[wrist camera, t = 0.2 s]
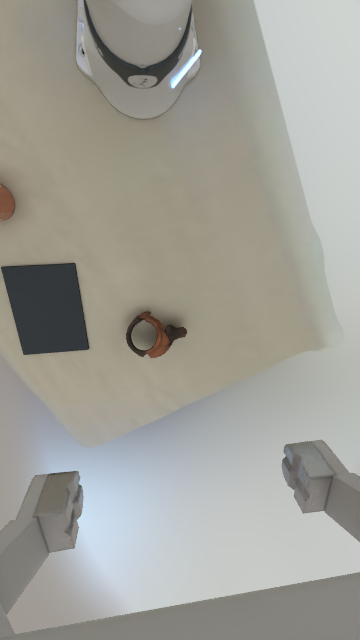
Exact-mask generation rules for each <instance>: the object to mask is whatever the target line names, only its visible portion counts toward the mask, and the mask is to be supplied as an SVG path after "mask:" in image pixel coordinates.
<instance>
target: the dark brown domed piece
mask: <svg viewBox="0 0 360 640" xmlns="http://www.w3.org/2000/svg"><path fill="white" fill-rule="evenodd" d="M149 314H151V312H146V313H142V314H141V315H138V316H137V317H136V318H135V319H134V320H133V321H132V323H131V324H130V325H129V327H128V329H127V333H126V340H127V343H128V346H129V347H130V348H131V349H132V350H133V351H134V352H135V353H136V354H138V355H139V356H141V357H144V355H146V354H148V355H149V356H150V358H156V357H159V356H161V355H163V354H164V353H165V352H166V351H167V350H168V349H169V348H170V346H171V345H172V343H173V341H174V340H175V339H178V338H181V337H185V336H186V334H187V330H186V329H185V328H184V327H180V328H176V327H174V326H172V325H168V326H167V327H166V329H165V331H164V330H163V328H164V325H163V324H162V323H161V322H160V321H159V320H157V319H156V318H154V317H153V316H150V315H149ZM141 320H145V321H146V322H149V323H151V324H152V325H153V326H154V327H155V329H156V331H157V340H156V343H155V345H154V346H153V347H152V348H150V349H148V350H145V351H143V350H139V349H137V348H136V347H135V346H134V344H133V343H132V340H131V333H132V330H133V328H134V326H135V325H136V324H137V323H139V322H141Z"/></svg>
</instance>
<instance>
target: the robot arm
mask: <svg viewBox="0 0 360 640" xmlns="http://www.w3.org/2000/svg"><path fill="white" fill-rule="evenodd" d="M83 50H84V53H85V55H84V54H83V53H82V52H83ZM200 54H201V50H198V43H197V37H196V31H195V24H194V18H193V11H192V0H78V8H77V42H76V62H77V66H78V68H79V69H80V71H81V72H82V73H83V74H84V75H86V76H87V77H88V78H90V79H91V80H92V81H94V82H95V83H96V84H97V86H98V87H99V89H100V90H101V92H102V93H103V95H104V96H105V98H106V99H107V100H108V101H109V103H110V104H111V105H112V106H114V107H115V108H116V109H117V110H118V111H120V112H121V113H123V114H125V115H127V116H130V117H133V118H138V119H149V118H154V117H157V116H159V115H161V114H163V113H164V112H166V111H167V110H168V109H169V108H170V107H171V106H172V105H173V104H174V103H175V101H176V100H177V98H178V97H179V95H180V93H181V91H182V89H183V87H184V85H185V84H186V83H187V82H188V81H190V80H191V79H192V78H193V77H194V76H195V75H196V74H197V73H198V71H199V69H200V56H199V55H200ZM284 453H285V455H286V457H285V458H284V459H283V460H282V470H283V474H284V477H285V480H286V482H287V484H288V486H290V487H291V488H292V489H294V490H295V493H294V497H295V499H296V501H297V503H298V505H299V506H300V508H301V510H302V512H303V513H310V512H318V511H325V513H326V514H328V515H329V516H330V517H331V518H333V519H334V520H335V521H336V522H337V523H338V524H339V525H340V526H342V527H343V528H344V529H345V530H346V531H348V532H349V533H350V534H351V535H352V536H353V537H355V538H356V539H357V540H358V541H359V542H360V476H358V475H356V474H354V473H349V472H348V470H347V469H346V468H345V467H344V465H343V464H342V463H341V462H340V460H339V459H338V458H337V457H336V455H335V454H334V453H333V452H332V450H331V449H330V448H329V447H328V445H327V444H326V443H325V442H324V441H323V440H316V441H310V442H308V441H307V442H301V443H293V444H286V445H285V447H284ZM79 480H80V476H79V472H78V471H73V472H61V473H53V474H52V473H51V474H44V475H35V477H34V478H33V479H32V481H31V484H30V486H29V488H28V491H27V493H26V496H25V498H24V501H23V503H22V505H21V508H20V510H19V513H18V515H17V517H16V520H12V521H10V522H9V523H8V524H7V525H6V526H5V527H4V528H3V529H2V530H1V531H0V640H360V572H359V573H354V574H348V575H342V576H337V577H331V578H326V579H320V580H315V581H309V582H303V583H298V584H292V585H287V586H281V587H275V588H270V589H265V590H259V591H253V592H248V593H242V594H236V595H231V596H225V597H220V598H215V599H209V600H203V601H198V602H192V603H187V604H181V605H175V606H170V607H165V608H159V609H154V610H148V611H142V612H137V613H132V614H125V615H120V616H114V617H109V618H104V619H98V620H92V621H87V622H81V623H76V624H70V625H64V626H59V627H54V628H48V629H42V630H37V631H31V632H26V633H20V634H15V633H14V631H13V629H12V627H11V625H10V622H9V620H8V618H7V616H6V615H7V614H8V612H9V610H10V609H11V608H12V606H13V605H14V604H15V602H16V601H17V599H18V598H19V596H20V595H21V594H22V592H23V591H24V589H25V588H26V587H27V585H28V584H29V582H30V581H31V579H32V578H33V576H34V575H35V574H36V572H37V571H38V569H39V568H40V566H41V565H42V564H43V562H44V561H45V559H46V558H47V557H48V555H49V553H51V552H56V551H62V550H67V549H73V548H75V542H76V538H77V533H78V528H79V527H78V523H77V519H78V518H79V517H80V516H81V513H82V507H83V489H82V486H81V485H79Z"/></svg>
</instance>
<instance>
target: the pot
mask: <svg viewBox="0 0 360 640" xmlns="http://www.w3.org/2000/svg"><path fill="white" fill-rule="evenodd" d="M14 209H15V203H14V199H13V196H12V194H11V193H10V191H9V190H8V189H7V188H6V187H5V186H3V185H2V184H0V221H5V220H7V219H9V218H10V217H11V216H12V214H13V212H14Z"/></svg>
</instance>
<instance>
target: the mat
mask: <svg viewBox="0 0 360 640" xmlns="http://www.w3.org/2000/svg"><path fill="white" fill-rule="evenodd" d="M1 269H2V273H3V277H4V281H5V285H6V289H7V293H8V296H9V300H10V304H11V308H12V312H13V316H14V319H15V323H16V327H17V331H18V335H19V339H20V342H21V346H22V350H23V354H24V355H28V354H40V353H53V352H65V351H78V350H89V345H88V339H87V333H86V327H85V321H84V315H83V309H82V303H81V296H80V290H79V284H78V278H77V272H76V266H75V263H71V264H51V265H30V266H10V267H1Z"/></svg>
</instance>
